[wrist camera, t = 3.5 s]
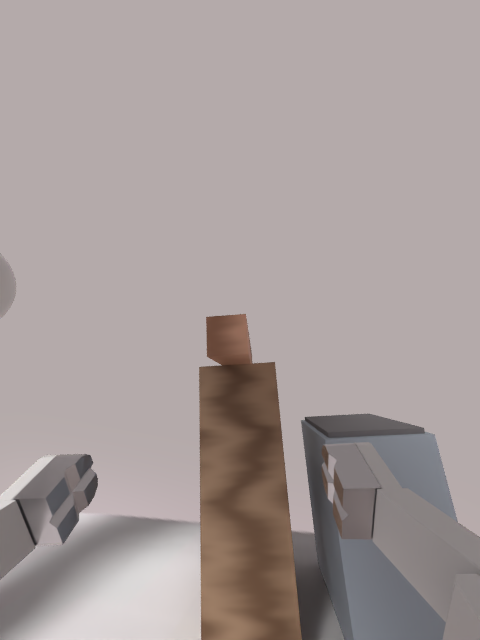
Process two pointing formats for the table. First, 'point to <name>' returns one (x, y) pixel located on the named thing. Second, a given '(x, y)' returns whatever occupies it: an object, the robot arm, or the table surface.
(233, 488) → the post
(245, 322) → the bar
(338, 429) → the dock
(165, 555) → the table surface
